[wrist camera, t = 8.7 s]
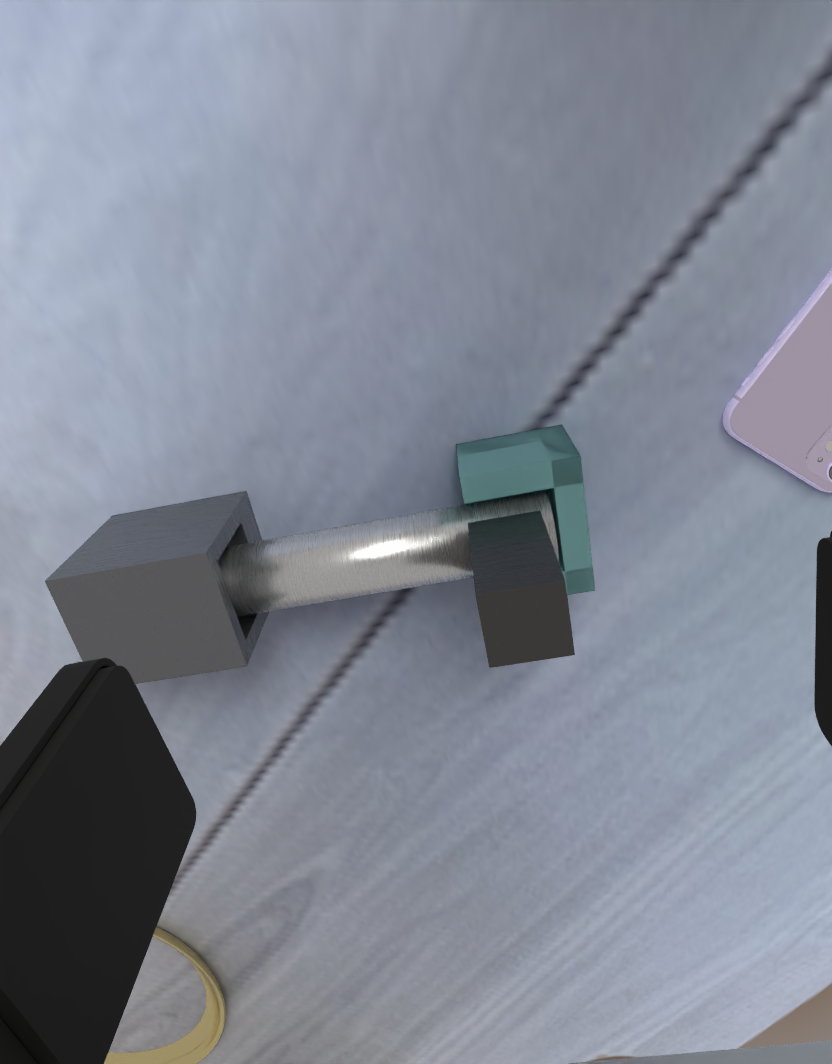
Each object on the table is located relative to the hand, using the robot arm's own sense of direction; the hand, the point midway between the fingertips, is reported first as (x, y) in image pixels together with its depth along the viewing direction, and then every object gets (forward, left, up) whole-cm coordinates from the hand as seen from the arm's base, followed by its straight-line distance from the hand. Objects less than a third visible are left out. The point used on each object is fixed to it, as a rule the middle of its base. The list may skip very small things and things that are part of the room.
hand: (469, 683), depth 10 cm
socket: (-2, +8, -24) cm, 26 cm away
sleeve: (+14, +8, -24) cm, 29 cm away
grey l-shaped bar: (+6, +8, -22) cm, 24 cm away
